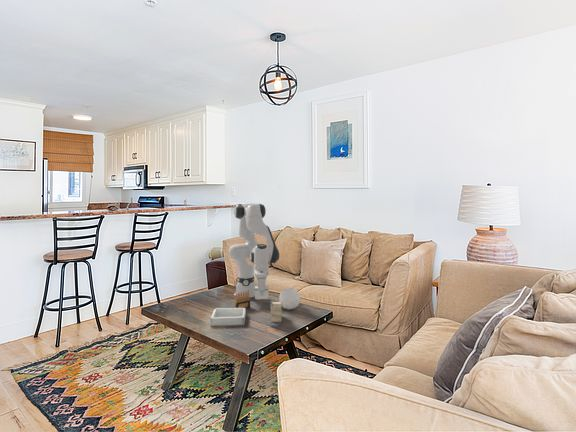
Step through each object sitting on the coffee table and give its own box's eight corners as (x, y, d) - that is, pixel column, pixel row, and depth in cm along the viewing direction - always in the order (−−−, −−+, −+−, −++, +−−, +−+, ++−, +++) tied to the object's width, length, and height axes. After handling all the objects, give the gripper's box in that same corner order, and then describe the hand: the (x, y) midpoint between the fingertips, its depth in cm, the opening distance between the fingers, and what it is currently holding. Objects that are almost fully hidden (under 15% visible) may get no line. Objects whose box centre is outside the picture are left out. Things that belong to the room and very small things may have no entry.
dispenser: (270, 316, 217) (270, 300, 216) (280, 316, 217) (280, 300, 217) (271, 321, 208) (270, 305, 207) (281, 321, 208) (281, 305, 208)
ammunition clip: (236, 310, 227) (235, 292, 226) (234, 310, 229) (234, 292, 228) (250, 307, 233) (250, 290, 233) (248, 306, 235) (248, 289, 234)
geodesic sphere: (285, 294, 243) (280, 281, 234) (304, 296, 239) (300, 282, 230) (279, 312, 233) (274, 299, 224) (299, 314, 228) (295, 301, 219)
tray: (214, 315, 219) (214, 308, 218) (245, 314, 220) (245, 307, 220) (210, 326, 201) (210, 318, 201) (244, 325, 203) (244, 317, 202)
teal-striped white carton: (255, 297, 213) (254, 286, 212) (268, 297, 213) (268, 286, 213) (254, 299, 210) (254, 287, 209) (268, 299, 210) (268, 287, 210)
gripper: (256, 267, 220) (256, 289, 221) (255, 275, 200) (255, 299, 201) (266, 267, 221) (266, 288, 222) (266, 275, 200) (266, 299, 201)
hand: (261, 294), depth 211 cm, fingers closed on teal-striped white carton, 3 cm apart
